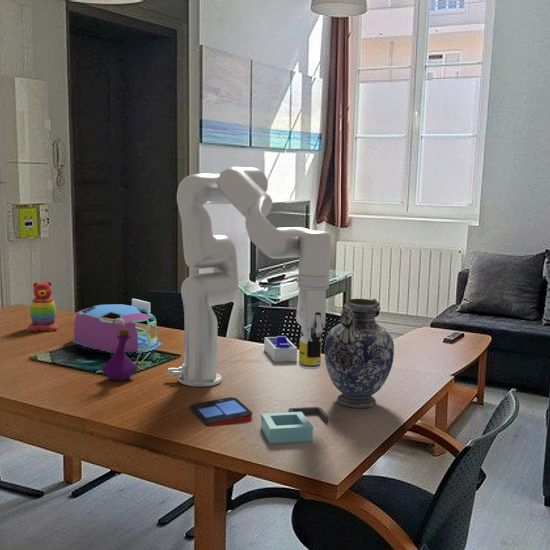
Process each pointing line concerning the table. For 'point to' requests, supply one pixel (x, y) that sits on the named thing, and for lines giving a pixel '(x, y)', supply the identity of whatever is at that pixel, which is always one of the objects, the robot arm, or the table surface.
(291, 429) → the port
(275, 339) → the box
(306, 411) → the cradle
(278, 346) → the cable clip
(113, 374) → the perfume bottle
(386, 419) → the table surface
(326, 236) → the robot arm
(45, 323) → the stacking bear
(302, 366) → the supplement bottle
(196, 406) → the game console
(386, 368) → the decorative vase
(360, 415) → the table surface
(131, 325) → the stadium
